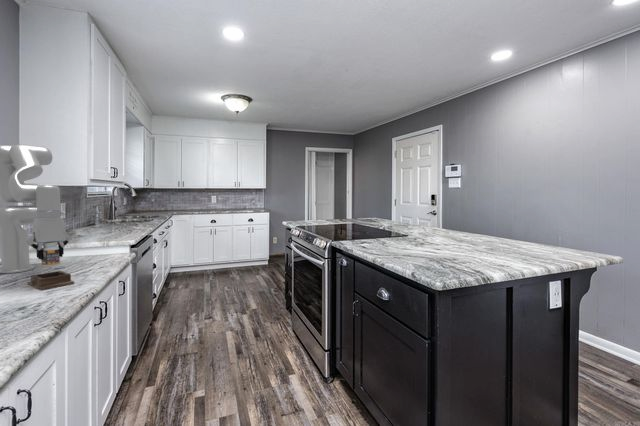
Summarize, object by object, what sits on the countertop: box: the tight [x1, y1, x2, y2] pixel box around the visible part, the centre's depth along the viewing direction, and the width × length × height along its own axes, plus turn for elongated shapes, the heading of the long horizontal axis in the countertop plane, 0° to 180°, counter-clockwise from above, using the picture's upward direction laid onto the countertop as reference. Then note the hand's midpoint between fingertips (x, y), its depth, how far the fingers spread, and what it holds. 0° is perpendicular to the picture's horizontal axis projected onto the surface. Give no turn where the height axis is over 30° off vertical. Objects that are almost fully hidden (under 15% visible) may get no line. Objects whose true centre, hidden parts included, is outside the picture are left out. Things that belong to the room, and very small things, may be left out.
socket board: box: [27, 270, 75, 291], centre depth 130 cm, size 14×11×4 cm
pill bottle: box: [41, 242, 61, 268], centre depth 130 cm, size 6×6×10 cm
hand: (50, 257), depth 130 cm, fingers closed on pill bottle, 5 cm apart
